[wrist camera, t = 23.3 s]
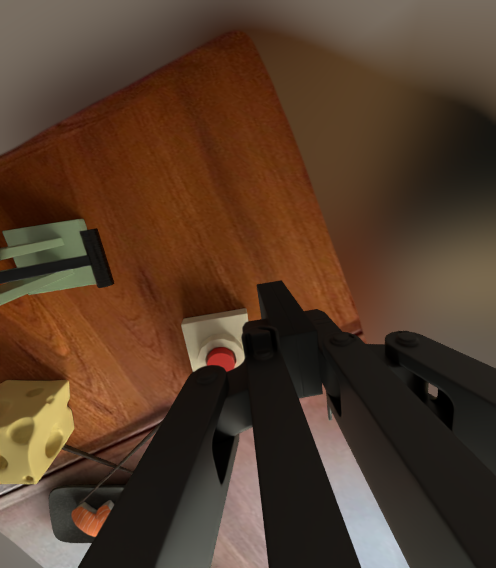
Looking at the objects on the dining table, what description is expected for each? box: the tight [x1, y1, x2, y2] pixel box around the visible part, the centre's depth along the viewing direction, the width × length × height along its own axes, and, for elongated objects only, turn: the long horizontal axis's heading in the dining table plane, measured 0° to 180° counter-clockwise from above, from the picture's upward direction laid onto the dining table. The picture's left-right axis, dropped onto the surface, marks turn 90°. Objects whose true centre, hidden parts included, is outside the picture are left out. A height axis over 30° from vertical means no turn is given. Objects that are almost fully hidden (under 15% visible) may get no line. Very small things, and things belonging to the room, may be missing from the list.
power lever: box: [0, 228, 114, 288], centre depth 26 cm, size 13×6×2 cm, turn 99°
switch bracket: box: [0, 219, 96, 305], centre depth 30 cm, size 10×9×16 cm
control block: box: [181, 308, 248, 372], centre depth 42 cm, size 12×10×4 cm
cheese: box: [0, 380, 74, 484], centre depth 39 cm, size 10×11×10 cm
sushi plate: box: [49, 419, 164, 543], centre depth 48 cm, size 29×30×4 cm
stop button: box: [207, 347, 235, 371], centre depth 39 cm, size 4×4×2 cm
